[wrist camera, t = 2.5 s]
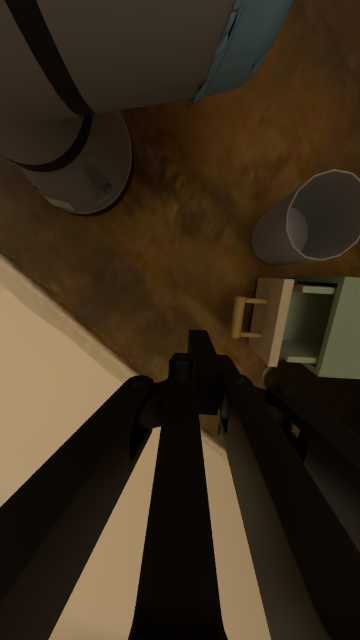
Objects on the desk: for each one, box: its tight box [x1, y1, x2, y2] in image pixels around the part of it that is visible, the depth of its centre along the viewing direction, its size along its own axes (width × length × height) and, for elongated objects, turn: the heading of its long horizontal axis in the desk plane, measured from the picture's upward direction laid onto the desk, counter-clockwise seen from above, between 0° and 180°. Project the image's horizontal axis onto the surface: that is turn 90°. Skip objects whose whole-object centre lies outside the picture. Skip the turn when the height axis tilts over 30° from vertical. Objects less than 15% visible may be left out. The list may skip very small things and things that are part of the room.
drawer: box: [230, 278, 337, 367], centre depth 27 cm, size 18×11×8 cm, turn 87°
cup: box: [252, 169, 360, 265], centre depth 24 cm, size 8×8×10 cm
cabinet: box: [294, 276, 360, 379], centre depth 27 cm, size 15×13×10 cm
